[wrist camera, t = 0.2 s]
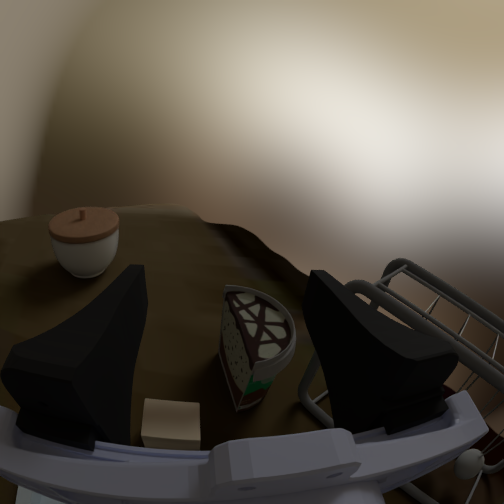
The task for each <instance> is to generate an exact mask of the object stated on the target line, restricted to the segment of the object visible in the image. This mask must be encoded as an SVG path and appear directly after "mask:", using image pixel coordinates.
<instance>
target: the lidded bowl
mask: <svg viewBox="0 0 504 504" xmlns="http://www.w3.org/2000/svg"><path fill="white" fill-rule="evenodd" d="M118 227H119V217H118V215H117V214H116V213H115V212H113V211H111V210H109V209H105V208H100V207H80V208H74V209H70V210H67V211H64V212H62V213H60V214H58V215H56V216H55V217H54V218H52V220H51V221H50V223H49V226H48V228H49V233H50V237H51V243H52V247H53V251H54V254H55V256H56V258H57V260H58V262H59V263H60V265H61V266H62V267H63V268H64V269H66V270H67V271H68V272H70V273H71V274H72V275H73V276H75V277H78V278H92V277H96V276H98V275H100V274H102V273H103V272H104V271H105V269H106V267H107V266H108V265H109V264H110V263H111V262H112V260H113V258H114V256H115V254H116V250H117V246H118Z"/></svg>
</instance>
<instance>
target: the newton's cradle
mask: <svg viewBox="0 0 504 504" xmlns="http://www.w3.org/2000/svg"><path fill="white" fill-rule="evenodd" d="M397 269H398V270H397ZM400 272H403V273H405V274H406V275H408V276H410V277H411V278H413V279H414V280H416V281H418V282H419V283H421V284H422V285H424V286H426V287H428V288H429V289H431V290H432V291H434V292H435V293H437V294H438V295H439V296H438V297H437V298H436V300H435V301H436V302H435V301H434V302H435V304H434V306H433V307H432V309H431V311H430V312H429V314H427V313H426V311H427V310H428V309H429V308H430V307H431V306H432V305H433V303H434V302H433V303H432V304H431V305H430V307H429V308H428V309H427V310H426V311H423V310H422V309H420V308H418V307H417V306H416V305H414V304H412V303H411V302H409V301H408V300H406V299H405V298H403V297H402V296H400V295H399V294H397V293H396V292H394V291H393V290H391V289H389V288H388V285H389V283H390V280H391V278H392V277H394V276H395V275H397V274H398V273H400ZM344 286H345V287H346V288H347V289H349V290H350V291H351V292H352V293H354V294H355V293H360V294H363V295H364V296H366V297H367V298H369V299H370V300H371V303H370V306H371V307H373V308H374V309H376V310H377V309H378V307H379V306H381V307H382V308H384V309H385V310H386V311H388V312H390V313H391V314H392V315H394V316H395V317H397V318H398V319H400V320H401V321H403V322H404V323H406V324H407V325H408V326H410V327H411V328H413V329H414V330H415V331H417V332H420V333H423V334H425V335H428V336H431V337H434V338H437V339H441V340H444V341H448V342H450V344H451V345H452V346H453V348H454V349H455V351H456V352H457V354H458V355H459V360H458V361H459V362H461V363H462V364H463V365H465V366H466V367H468V368H469V369H470V370H472V371H473V372H472V373H471V375H470V376H469V377H468V379H469V378H470V377H471V376H472V374H473V373H476V374H477V375H478V377H477V378H476V379H475V380H474V381H473V382H472V383H471V384H470V385H469V387H470V386H471V385H472V384H473V383H474V382H475V381H476V380H477V379H478V378H479V377H481V378H483V379H484V380H485V381H487V382H488V383H489V384H491V385H492V386H494V387H495V388H496V389H498V391H497V392H496V393H495V395H496V394H497V393H498V392H499V391H501V392H502V393H503V394H504V375H503V374H502V373H500V372H499V371H498V370H496V369H495V368H494V367H492V366H491V365H490V364H492V365H493V366H495V367H496V368H497V369H499V370H500V371H501V372H503V373H504V367H503V366H502V365H500V364H499V363H498V362H496V361H495V360H493V358H494V354H495V350H496V346H495V350H494V354H493V358H491V357H489V356H488V355H487V353H488V352H489V350H490V348H491V347H492V346H493V344H494V342H495V341H496V339H497V341H498V336H500V337H502V338H503V339H504V321H503V320H502V319H501V318H499V317H498V316H496V315H494V314H493V313H492V312H490V311H489V310H488V309H486V308H485V307H483V306H482V305H480V304H479V303H477V302H476V301H474V300H473V299H471V298H470V297H468V296H466V295H465V294H463V293H462V292H460V291H459V290H457V289H456V288H454V287H452V286H451V285H449V284H448V283H446V282H444V281H443V280H441V279H440V278H438V277H436V276H434V275H433V274H431V273H430V272H428V271H427V270H425V269H423V268H422V267H420V266H418V265H417V264H414V263H413V262H411V261H410V260H407V259H403V258H398V259H396V260H392V261H391V262H390V263H389V264H388V265H387V267H386V268H385V270H384V272H383V275H382V277H381V279H380V280H379V281H377V282H376V283H374V284H371V283H369V282H367V281H364V280H353V281H350V282H348V283H347V284H345V285H344ZM377 286H378V287H377ZM385 292H387V293H389V294H390V295H392V296H393V297H395V298H396V299H398V300H399V301H401V302H402V303H404V304H405V305H407V306H409V307H410V308H412V309H413V310H414V311H416V312H417V313H419V314H420V315H422V317H421V316H420V315H418V314H417V313H415V312H414V311H412V310H411V309H409V308H407V307H406V306H405V305H403V304H402V303H400V302H398V301H397V300H396V299H394V298H392V297H391V296H390V295H388V294H386V293H385ZM440 296H441V297H443V298H444V299H446V300H448V301H449V302H451V303H452V304H454V305H455V306H457V307H458V308H460V309H461V310H463V311H464V312H466V313H467V314H469V316H468V318H467V319H466V321H465V323H464V324H463V326H462V328H461V329H460V331H459V333H460V332H461V330H462V329H463V330H464V328H465V325H466V323H467V321H468V319H469V317H470V316H472V317H473V318H475V319H476V320H477V321H479V322H480V323H482V324H483V325H485V326H486V327H488V328H489V329H491V330H492V331H493V332H495V333H496V334H497V337H496V338H495V340H494V341H493V343H492V345H491V346H490V348H489V349H488V351H487V352H486V354H485V353H484V352H482V351H481V350H480V349H478V348H477V347H475V346H474V345H473V344H471V343H470V342H468V341H467V340H465V339H464V338H463V337H461V334H462V332H463V330H462V332H461V334H460V335H459V333H458V334H457V333H455V332H454V331H453V330H451V329H450V328H448V327H447V326H445V325H444V324H442V323H441V322H439V321H438V320H436V319H435V318H433V317H432V316H430V314H431V312H432V310H433V308H434V307H435V305H436V303H437V301H438V299H439V297H440ZM423 317H425V318H426V319H424V318H423ZM427 319H428V320H429V321H431V322H432V323H434V324H435V325H437V326H438V327H440V328H441V329H443V330H444V331H445V332H447V333H448V334H450V335H451V336H453V337H454V338H455V339H453V338H452V337H450V336H448V335H447V334H446V333H444V332H443V331H441V330H440V329H439V328H437V327H436V326H434V325H433V324H431V323H430V322H428V321H427ZM456 339H457V340H456ZM457 341H460V342H461V343H463V344H464V345H466V346H467V347H468V348H470V349H471V350H473V351H474V352H475V353H477V354H478V355H479V356H481V357H482V359H481V358H480V357H479V356H477V355H476V354H474V353H473V352H471V351H470V350H469V349H467V348H466V347H464V346H463V345H462V344H460V343H459V342H457ZM496 345H497V342H496ZM483 359H485V360H486V361H488V362H489V364H488V363H487V362H485V361H484V360H483ZM320 364H321V363H320V360H319V357H318V355H317V352H316V350H315V352H314V354H313V356H312V358H311V360H310V363H309V365H308V367H307V369H306V371H305V373H304V376H303V378H302V380H301V382H300V384H299V387H298V396H299V399H300V401H301V403H302V404H303V405H304V407H305V408H306V409H307V410H308V411H309V412H311V413H312V414H313V415H314V416H315V417H316V418H317V419H318V420H319V421H320V422H321V423H323V424H324V425H325V426H326V427H327V428H328V429H334V422H333V419H332V418H331V417H330V416H328V415H327V414H326V413H325V412H324V411H323V410H322V409H321V408H319V407H318V406H317V405H316V404H315V403H316V402H317V401H318V400H320V399H321V398H322V397H324V396H325V395H326V394H328V390H327V391H325V392H324V393H323V394H321V395H320V396H319V397H317V398H316V399H314V400H313V401H312V400H311V399H310V397H309V395H308V388H309V386H310V384H311V382H312V380H313V378H314V376H315V374H316V372H317V370H318V368H319V366H320ZM468 379H467V380H466V381H465V383H466V382H467V381H468ZM465 383H464V384H463V385H462V387H463V386H464V385H465ZM462 387H461V388H460V389H459V390H458V391H457V393H458V392H459V391H460V390H461V389H462ZM469 387H467V389H466V391H467V390H468V388H469ZM457 393H456V394H457ZM495 395H494V396H493V397H492V398H491V399H490V401H491V400H492V399H493V398H494V397H495ZM490 401H489V402H488V403H487V404H486V405H485V407H486V406H487V405H488V404H489V403H490ZM502 402H504V400H503V401H501V402H500V403H499V404H498V405H497V406H496V407H495V408H494V409H493V410H492V411H494V410H495V409H496V408H497V407H498V406H499V405H500V404H501V403H502ZM485 407H484V408H485ZM484 408H483V409H482V410H481V411H480V412H479V413H481V412H482V411H483V410H484ZM492 411H491V412H492ZM491 412H489V413H488V414H487V415H486V416H485V417H484V418H483V419H485V418H486V417H487V416H488V415H489V414H490V413H491ZM503 431H504V429H503V430H502V431H501V432H500V434H501V433H502V432H503ZM500 434H499V435H500ZM499 435H498V436H499ZM498 436H497V437H498ZM497 437H496V438H497ZM496 438H495V439H496ZM495 439H494V440H495ZM494 440H493V441H492V442H491V443H490V444H489V445H488V446H487V447H486V448H485V449H484V450H483V451H482V452H481V451H479V450H477V449H470V450H467V451H464V452H463V453H462V454H460V455H459V457H458V458H457V460H456V462H455V465H454V472H455V475H456V476H457V477H458V478H460V479H470V478H472V477H474V476H475V475H477V474H478V473H479V472H480V473H479V475H478V477H477V480H476V482H475V484H474V486H473V488H472V491H471V493H470V495H469V497H468V499H467V501H466V503H465V504H468V503H469V501H470V498H471V496H472V494H473V492H474V490H475V488H476V486H477V483H478V481H479V479H480V476H481V474H482V473H486V474H492V473H495V472H497V471H499V470H501V469H502V468H503V467H504V459H503V460H502V461H501V462H499V463H498V464H496V465H494V466H487V465H485V464H484V455H485V454H486V453H488V452H489V451H491V450H492V449H494V448H495V447H496V446H498V445H499V444H500V443H502V442H503V441H504V440H502V441H501V442H500V443H498V444H497V445H496V446H494V447H493V448H492V449H490V450H489V451H487V452H486V453H484V454H482V453H483V452H484V451H485V450H486V449H487V448H488V447H489V446H490V445H491V444H492V443H493V442H494ZM400 488H401V489H402V490H404V491H405V492H406V493H408V494H409V495H410V496H412V497H413V498H415V499H416V500H417V501H419V502H420V503H421V504H439V503H438V502H436V501H435V500H434V499H432V498H431V497H429V496H428V495H427V494H425V493H424V492H422V491H421V490H420V489H418V488H417V487H416V486H414V485H413V484H412V483H410V482H408V483H406V484H404V485H402V486H400ZM502 504H504V503H502Z"/></svg>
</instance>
